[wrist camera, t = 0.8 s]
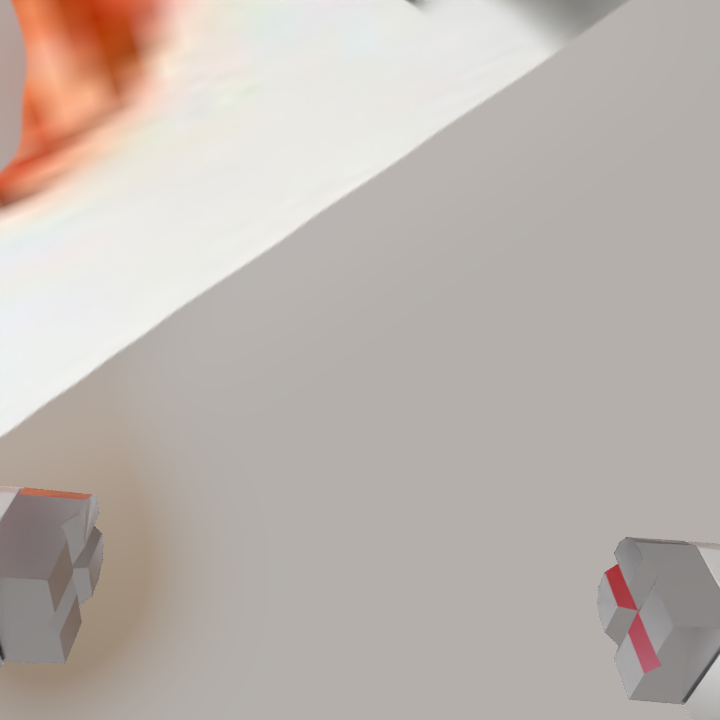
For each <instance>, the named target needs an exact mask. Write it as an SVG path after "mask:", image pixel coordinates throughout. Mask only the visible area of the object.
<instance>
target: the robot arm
mask: <svg viewBox="0 0 720 720" xmlns="http://www.w3.org/2000/svg"><path fill="white" fill-rule="evenodd" d="M98 514H99V508H98V502H97V497H96V496H94V495H90V494H81V493H71V492H61V491H53V490H43V489H33V488H18V487H9V486H0V668H1V667H2V666H3V662H25V663H54V664H65V663H66V660H67V658H68V656H69V653H70V651H71V648H72V645H73V643H74V641H75V638H76V636H77V633H78V631H79V628H80V626H81V622H82V621H81V615H80V609H79V606H80V605H81V604H83V603H84V602H85V601H86V600H88V599H89V598H90V597H92V595H93V593H94V590H95V587H96V585H97V582H98V579H99V575H100V570H101V565H102V561H103V537H102V533H101V532H100V531H99V530H98V529H97V528H96V527H95V526H94V524H95V522H96V519H97V517H98ZM614 555H615V557H616V560H617V562H618V564H617V565H615V566H614V567H612V568H610V569H609V570H607V571H606V572H605V573H604V575H603V577H602V580H601V582H600V585H599V590H598V609H599V616H600V620H601V623H602V626H603V628H604V631H605V633H606V634H607V635H608V636H609V637H610V638H611V639H613V641H615V642H616V643H617V644H618V645H619V647H618V650H617V652H616V655H615V657H614V660H615V662H616V665H617V668H618V671H619V673H620V676H621V679H622V682H623V684H624V687H625V690H626V693H627V695H628V698H629V699H630V700H640V701H651V702H661V703H672V704H684V706H683V708H684V709H685V710H686V712H687V713H688V714H689V715H690V716H691V717H692V718H693V719H694V720H720V544H714V543H700V542H685V541H675V540H661V539H647V538H632V537H626V538H625V539H623V540H622V541H620V542H619V544H618V546H617V548H616V550H615V552H614Z"/></svg>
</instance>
